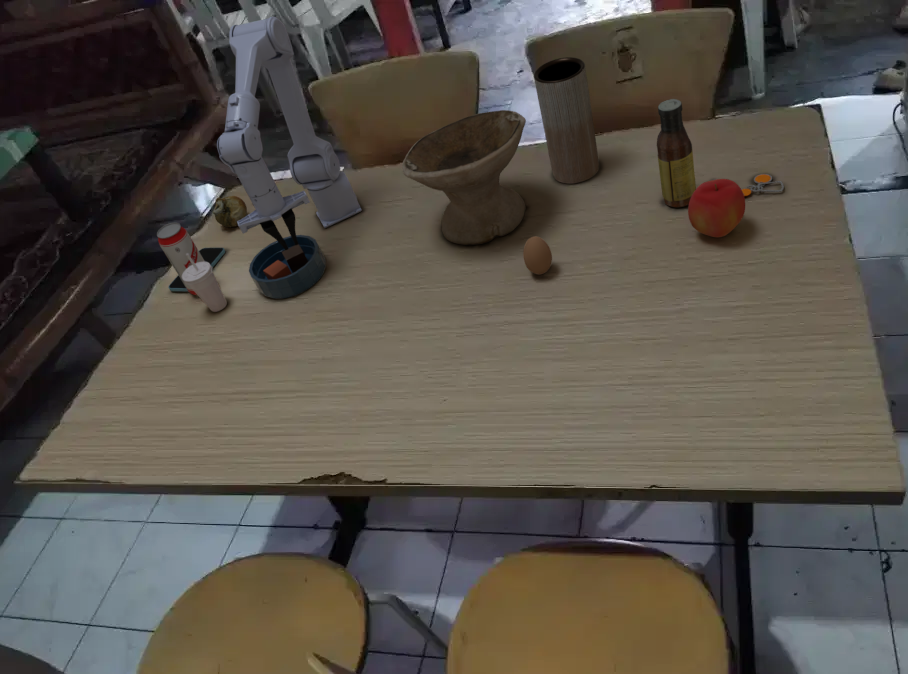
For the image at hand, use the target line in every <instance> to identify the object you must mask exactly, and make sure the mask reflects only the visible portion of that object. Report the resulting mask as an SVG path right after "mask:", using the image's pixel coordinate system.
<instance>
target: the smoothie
mask: <svg viewBox="0 0 908 674" xmlns="http://www.w3.org/2000/svg"><path fill="white" fill-rule="evenodd" d="M186 256H187V257H188V259H189V260H190V262H191V263H192V265H191V266H190V267H188V268H187V269H186V270H185V271H184V272H183V274H182V279H183V281H184V283H185V284H188V285H189V286H190V287H191V288H192V289H193V291H194V292H195V293H196V294H197V295H198V296H197V295H196V296H197V297H199V299H200V300H201V301H202V302H203V303H204V304H205V305H206V307H207V308H208V309H209V310H210V311H211V312H214V313H216V312H220V311H221V310H223V309H224V308H226V306H227V304H228V301H227V299H226V297H225V295H224V292H223V290H222V289H221V286H220V283H219V282H218V279H217V278H216V275H215V274H214V271H213V269H214V267H213V268H212V266H211V265H210V263H208V262H198V263H194V261H193V260H192V258H191V257H190V255H189V254H188V253H187V254H186Z"/></svg>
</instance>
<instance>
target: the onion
mask: <svg viewBox="0 0 908 674" xmlns="http://www.w3.org/2000/svg"><path fill="white" fill-rule="evenodd" d="M247 212H248V208H247V204H246V203H245V201H244V200H243V199H242V198H241V197H238V196H236V195H229V196H225V197H222V198H221V197H220V196H219V197H216V199H215V207H214V210H213V211H212V214H213V215H214V219H215V221H216V222H217V224H220V226H223V227H225V228H234V227H237V226H238V223H237V221H239V220H241V219H243V218H244V217H246V216H247V214H248V213H247Z"/></svg>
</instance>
